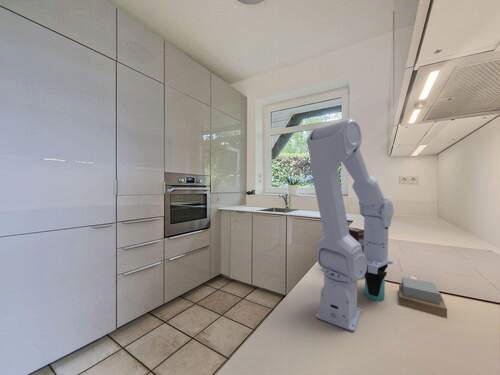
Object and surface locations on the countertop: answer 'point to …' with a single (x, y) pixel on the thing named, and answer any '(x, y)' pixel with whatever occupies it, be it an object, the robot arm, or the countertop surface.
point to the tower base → (423, 304)
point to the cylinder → (381, 293)
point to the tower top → (420, 290)
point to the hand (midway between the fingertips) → (374, 291)
